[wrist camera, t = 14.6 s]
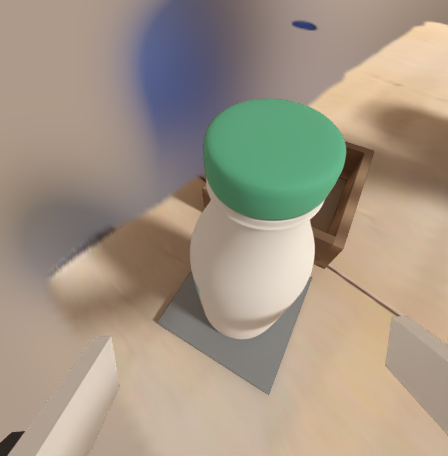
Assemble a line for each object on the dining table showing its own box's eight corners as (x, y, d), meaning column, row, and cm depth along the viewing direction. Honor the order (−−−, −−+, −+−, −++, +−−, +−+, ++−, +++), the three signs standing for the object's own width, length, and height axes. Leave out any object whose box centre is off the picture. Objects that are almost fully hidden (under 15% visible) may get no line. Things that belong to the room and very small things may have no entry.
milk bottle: (291, 295, 25) (442, 123, 8) (247, 359, 22) (333, 316, 4) (234, 252, 27) (250, 52, 10) (187, 304, 24) (97, 144, 7)
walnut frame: (256, 143, 38) (260, 114, 34) (355, 178, 34) (374, 150, 30) (205, 213, 31) (202, 188, 27) (324, 268, 27) (343, 249, 23)
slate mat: (217, 234, 29) (217, 231, 29) (310, 279, 26) (312, 277, 26) (158, 324, 24) (157, 323, 23) (267, 394, 21) (268, 394, 20)
